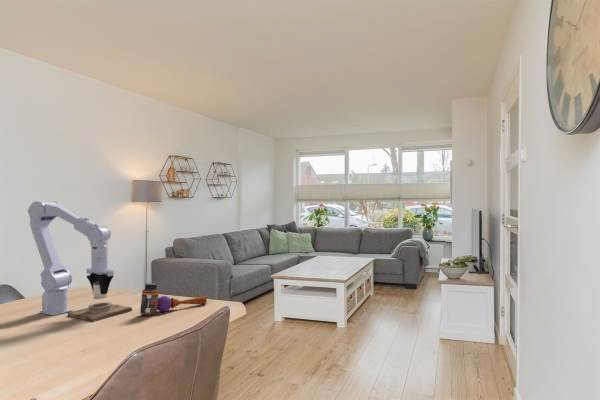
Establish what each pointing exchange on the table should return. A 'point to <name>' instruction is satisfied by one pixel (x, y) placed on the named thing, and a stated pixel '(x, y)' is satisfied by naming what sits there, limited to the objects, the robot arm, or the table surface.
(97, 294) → the plug
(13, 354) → the table surface
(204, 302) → the kendama
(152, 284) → the supplement bottle
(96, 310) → the board with ring socket
